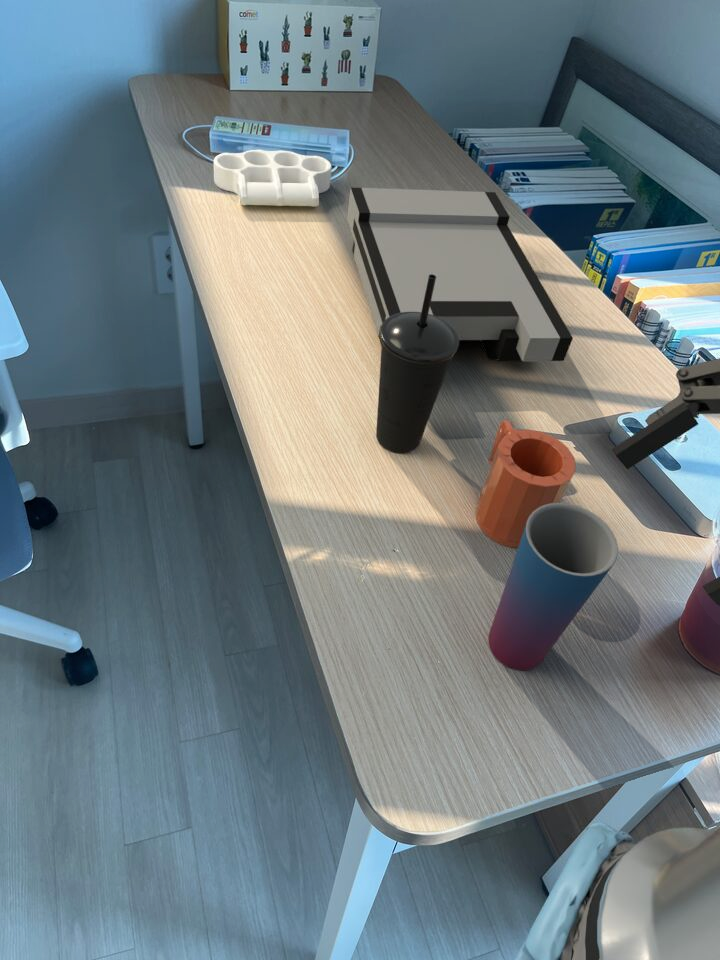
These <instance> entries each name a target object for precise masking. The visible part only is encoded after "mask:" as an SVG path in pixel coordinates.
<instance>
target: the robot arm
mask: <svg viewBox="0 0 720 960" xmlns="http://www.w3.org/2000/svg"><path fill="white" fill-rule="evenodd" d="M675 377H676V379H677V381H678V386H679V393H678V395H677V396H676V397H675V398H673V399H672V400H671V401H669V402H667V403H666V404H664V405H662V406H661V407H660V408H658V409H656V411H653V412H652V413H650V414H649V415H648V416H647V418H646V419H645V420H644V421H645V423H646V424H647V425H646V426H645V427H643V428H642V429H640V430H639V431H637V432H635V433H633V435H631V436H629V437H627V439H625V440H624V441H622V442H620V443H619V444H617V445H616V446H614V447H613V448H611V451H612V453H613V454H614V455H615V457H616V458H617V460H619V461H620V463H621V464H622V465H623V466H624V467H625V469H626V470H629V469H631V468H632V467H635V466H636V465H637V464H638V463H640V462H642V461H643V460H645V459H646V458H648V457H650V456H652V455H653V454H654V453H656V452H657V451H659V450H661V449H662V448H664V447H665V446H667V445H669V444H671V442H673V441H675V440H676V439H677V438H679V437H681V436H682V435H684V434H685V433H687V432H689V431H690V430H692V429H694V428H695V427H697V426H698V425H699V422H698V420H697V419H699V416H700V415H720V358H714V359H711V360H707V361H703V362H699V363H696V364H695V363H694V364H691V365H687V366H683V367H680V368H679V369H678V370H677V371H676V373H675ZM702 588H703V590H704V591H705V593H706V594H707V595H708V596H709V598H710V599H711V600H712V601H713V602H714V603H715V604H716V605H717V606H718V607H719V606H720V576H718V577H716V578H715V579H712V580H711V581H709V582H707V583H705V584H703V585H702ZM514 960H720V826H718V827H717V828H716V829H715V830H712V829H709V828H700V827H693V826H691V827H690V826H682V827H671V828H667V829H663V830H658V831H656V832H653V833H651V834H648V835H647V836H645V837H643V838H642V839H640V840H639V841H637V842H636V841H635V839H634V838H633V837H632V836H631V834H629V833H627V832H625V831H623V830H622V831H621V830H617V829H616V828H614V827H612V826H611V825H609V824H607V823H605V822H593V823H592V824H589V826H588V827H587V828H586V829H585V831H584V832H583V834H582V836H581V837H580V839H579V840H578V842H577V843H576V845H575V847H574V849H573V851H572V853H571V854H570V856H569V858H568V860H567V862H566V864H565V865H564V867H563V869H562V870H561V872H560V874H559V876H558V878H557V880H556V882H555V883H554V885H553V887H552V889H551V891H550V892H549V894H548V897H547V898H546V900H545V902H544V903H543V905H542V908H541V909H540V911H539V913H538V914H537V916H536V919H535V920H534V922H533V924H532V925H531V928H530V930H529V932H528V935H527V937H526V938H525V940H524V942H523V944H522V945H521V946H520V949H519V950H518V953H517V955H516V957H515V959H514Z"/></svg>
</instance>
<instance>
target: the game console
mask: <svg viewBox="0 0 720 960" xmlns="http://www.w3.org/2000/svg"><path fill="white" fill-rule="evenodd" d="M349 190H350V191H349V198H348V205H347V206H348V207H347V216H346V220H347V223H348V226H349V229H350V231H351V235H352V239H353V243H352V249H351V251H352V254H353V258H354V261H355V264H356V265H355V266H356V268H357V271H358V275H359V278H360V282H361V284H362V288H363V291H364V295H365V298H366V301H367V304H368V305H367V306H368V307H369V310H370V311H369V312H370V314H371V318H372V321H373V324H374V328H375V330H376V334H377V337H378V340H379V343H380V347H382V341H381V339H380V328H381V325H382V324H383V322H384V321H385V320H386V319H387V318H388V317H390V316H392V315H394V314H397V313H401V312H421V311H422V306H423V301H424V296H425V292H426V287H427V282H428V277H429V275H431V274H433V275H435V276H436V281H435V285H434V290H433V294H432V299H431V303H430V308H429V313H428V314H431V315H434V316H436V317H439V318H441V319H443V320H444V321H446V322H447V323H449V324H450V325H451V326H452V327H453V328H454V329H455V331H456V332H457V334H458V337H459V341H480V343H481V345H482V347H483V349H484V351H485V354H486V356H487V358H488V360H489V361H493V360H495V361H497V360H498V362H515V361H517V362H518V361H519V362H520V361H522V362H564V361H565V360H566V356H567V354H568V352H569V349H570V346H571V344H572V341H573V339H574V337H573V336H572V334H571V332H570V330H569V328H568V327H567V325H566V323H565V322H564V320H563V318H562V317H561V315H560V313H559V312H558V310H557V308H556V306H555V304H554V303H553V301H552V299H551V297H550V296H549V294H548V292H547V291H546V289H545V287H544V286H543V284H542V282H541V280H540V279H539V277H538V275H537V273H536V272H535V270H534V269H533V267H532V265H531V263H530V261H529V259H528V258H527V256H526V255H525V253H524V251H523V249H522V248H521V246H520V244H519V242H518V241H517V239H516V238H515V236H514V234H513V233H512V231H511V229H510V227H509V220H510V214H509V213H508V212H507V210H506V208H505V206H504V205H503V203H502V201H501V199H500V197H499V196H498V195H497V193H496V192H495V191H472V190H471V191H470V190H469V191H465V190H442V189H441V190H436V189H410V188H409V189H408V188H383V187H382V188H380V187H378V188H377V187H352V186H351V187H350V189H349Z"/></svg>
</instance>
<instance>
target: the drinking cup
mask: <svg viewBox="0 0 720 960" xmlns="http://www.w3.org/2000/svg"><path fill="white" fill-rule="evenodd" d="M435 281H436V276H435V275H433V274H431V275H429V277H428V282H427V287H426V292H425V296H424V301H423V306H422V311H421V312H401V313H397V314H394V315H392V316H390V317H388V318H387V319H386V320H385V321H384V322H383V324H382V325H381V328H380V339H381V341H382V346H381V351H380V366H379V380H378V381H379V383H378V401H377V413H376V415H377V417H376V430H375V432H376V433H375V436H376V441H377V442H378V443H379V445H380V446H381V447H382V448H384V449H385V450H387V451H388V452H392V453H395V454H408V453H411V452H413V451H415V450H416V449H417V448H418V447H419V446H420V443H421V441H422V438H423V436H424V433H425V430H426V428H427V426H428V422H429V419H430V417H431V414H432V411H433V408H434V406H435V404H436V401H437V399H438V395H439V393H440V390H441V386H442V385H443V382H444V379H445V376H446V375H447V371H448V368H449V366H450V363H451V361H452V358H453V357H454V355H455V354H456V353H457V352H458V349H459V346H460V340H459V337H458V334H457V332H456V331H455V329H454V328H453V327H452V326H451V325H450V324H449V323H447V322H446V321H444V320H443V319H441V318H439V317H436V316H434V315H431V314H428V313H429V308H430V303H431V299H432V294H433V290H434V285H435Z"/></svg>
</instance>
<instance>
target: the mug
mask: <svg viewBox="0 0 720 960" xmlns="http://www.w3.org/2000/svg"><path fill="white" fill-rule="evenodd" d="M494 438H495V439H494V442H493V444H492V447H491V451H490V453H489V456H488V460H487V462H488V466H489V470H488V472H487V475H486V479H485V481H484V484H483V487H482V489H481V492H480V494H479V498H478V500H477V505H476V507H475V508H476V509H475V519H476V522H477V524H478V526H479V528H480V529H481V531H482V532H483V533H484V535H486V536H487V537H488V538H489V539H491V540H492V541H494V542H495V543H497V544H500V545H502V546H505V547H507V548H508V547H509V548H515V549H518V547H519V544H520V541H521V538H522V535H523V532H524V529H525V526H526V523H527V520H528V518H529V516H530V515H531V514H532V512H533V511H535V510H536V509H537V508H539V507H541V506H543V505H546V504H551V503H562V500H563V497H564V495H565V493H566V492H567V490H568V487H569V486H570V483H571V481H572V479H573V477H574V475H575V473H576V470H577V469H576V468H577V467H576V459H575V456H574V455H573V454H572V452H571V450H570V448H569V447H568V446H567V445H565V444H564V443H563V442H562V441H561V440H560V439H558V438H556V437H555V436H552V435H550V434H548V433H545V432H543V431H539V430H532V429H520V430H517V429H516V427H515V426H514V424H513V422H512V421H511V420H510V419H503V420H502V421H501V422H500V424H499V427H498V430H497V432H496V435H495V437H494Z"/></svg>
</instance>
